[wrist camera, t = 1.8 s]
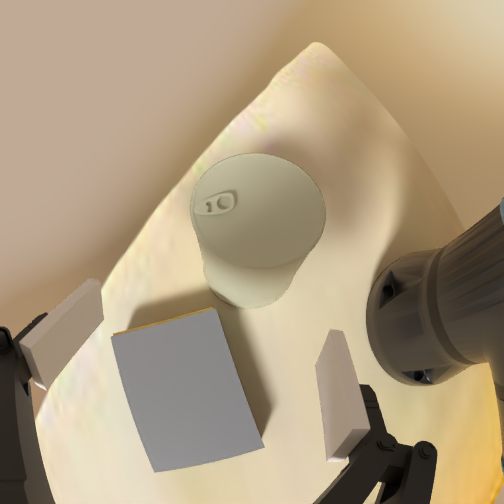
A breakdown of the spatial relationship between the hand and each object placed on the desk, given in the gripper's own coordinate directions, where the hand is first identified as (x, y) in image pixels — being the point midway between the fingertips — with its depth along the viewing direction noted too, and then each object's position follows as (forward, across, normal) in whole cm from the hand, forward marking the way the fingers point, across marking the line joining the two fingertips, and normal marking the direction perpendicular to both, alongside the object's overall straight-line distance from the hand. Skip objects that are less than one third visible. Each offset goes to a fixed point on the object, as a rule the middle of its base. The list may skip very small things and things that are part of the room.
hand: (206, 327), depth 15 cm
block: (+5, -2, -12) cm, 13 cm away
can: (+15, +2, -2) cm, 15 cm away
